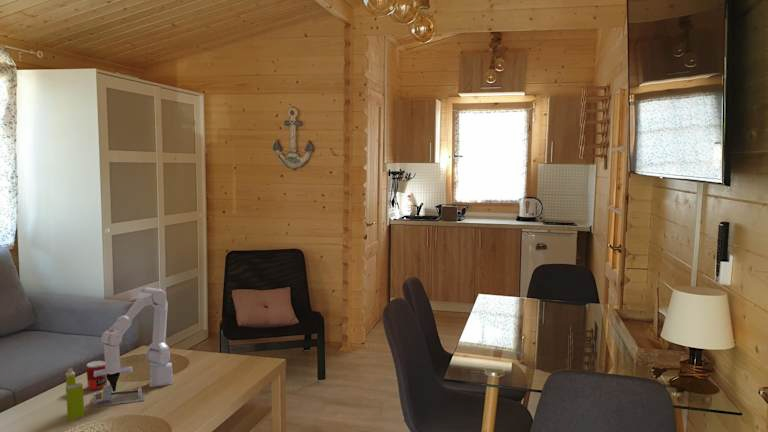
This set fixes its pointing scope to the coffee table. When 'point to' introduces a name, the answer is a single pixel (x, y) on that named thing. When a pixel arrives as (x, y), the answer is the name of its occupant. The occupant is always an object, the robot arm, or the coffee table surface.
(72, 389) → the vape
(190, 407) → the coffee table surface
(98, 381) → the canned food
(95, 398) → the linear slide rail
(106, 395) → the sleeve
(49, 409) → the coffee table surface
